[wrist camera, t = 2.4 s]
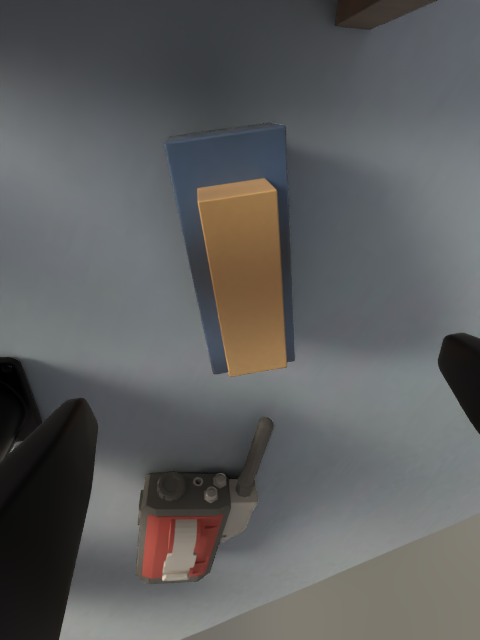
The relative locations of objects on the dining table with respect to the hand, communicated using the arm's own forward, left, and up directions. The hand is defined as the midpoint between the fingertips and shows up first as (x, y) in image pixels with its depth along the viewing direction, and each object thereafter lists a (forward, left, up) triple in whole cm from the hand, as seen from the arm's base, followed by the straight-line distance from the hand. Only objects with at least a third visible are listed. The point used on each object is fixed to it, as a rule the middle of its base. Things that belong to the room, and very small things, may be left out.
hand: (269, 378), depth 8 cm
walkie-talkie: (-21, +2, -10) cm, 23 cm away
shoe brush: (0, 0, -10) cm, 10 cm away
